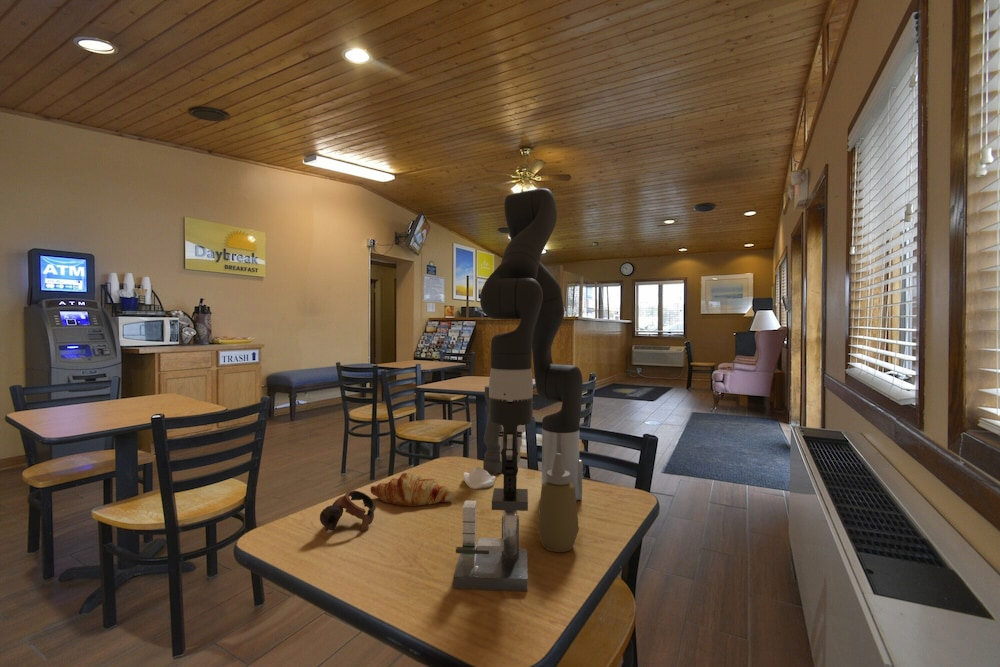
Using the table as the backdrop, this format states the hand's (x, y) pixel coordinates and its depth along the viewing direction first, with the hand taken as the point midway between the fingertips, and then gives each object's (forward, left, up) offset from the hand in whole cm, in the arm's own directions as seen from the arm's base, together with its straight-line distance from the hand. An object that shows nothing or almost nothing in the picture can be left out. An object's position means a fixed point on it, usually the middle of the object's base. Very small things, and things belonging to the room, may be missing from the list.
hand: (509, 494), depth 79 cm
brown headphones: (+28, -27, -14) cm, 41 cm away
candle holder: (-13, -55, -14) cm, 58 cm away
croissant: (+12, -38, -14) cm, 43 cm away
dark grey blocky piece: (+1, 0, -10) cm, 10 cm away
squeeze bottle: (-12, -7, -14) cm, 20 cm away
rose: (-6, -46, -14) cm, 49 cm away
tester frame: (+3, -1, -14) cm, 14 cm away
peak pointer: (+7, 0, -9) cm, 11 cm away
